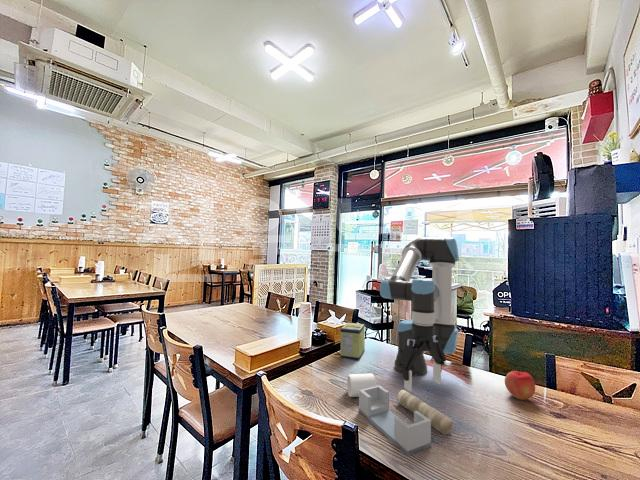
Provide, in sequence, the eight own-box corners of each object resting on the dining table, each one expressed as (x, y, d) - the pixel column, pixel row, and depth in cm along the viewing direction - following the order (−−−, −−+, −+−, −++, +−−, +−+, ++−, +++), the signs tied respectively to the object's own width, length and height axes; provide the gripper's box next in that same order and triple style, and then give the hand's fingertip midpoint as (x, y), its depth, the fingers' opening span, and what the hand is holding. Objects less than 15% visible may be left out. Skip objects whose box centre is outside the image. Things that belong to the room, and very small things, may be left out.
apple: (531, 395, 113) (531, 369, 113) (538, 407, 104) (537, 379, 105) (503, 390, 117) (502, 365, 117) (507, 401, 108) (506, 374, 109)
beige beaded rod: (397, 405, 105) (396, 392, 105) (407, 400, 107) (406, 387, 107) (442, 437, 87) (440, 422, 87) (453, 430, 89) (451, 415, 89)
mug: (376, 400, 108) (376, 378, 109) (351, 401, 107) (351, 379, 107) (367, 385, 120) (367, 366, 120) (344, 386, 119) (344, 367, 119)
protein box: (364, 351, 161) (364, 323, 162) (359, 361, 146) (359, 330, 147) (346, 348, 165) (347, 321, 165) (340, 358, 150) (340, 328, 151)
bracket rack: (379, 405, 104) (379, 385, 104) (430, 446, 82) (430, 420, 83) (358, 411, 100) (359, 390, 100) (407, 456, 78) (407, 428, 79)
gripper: (439, 318, 107) (439, 375, 106) (387, 324, 96) (387, 388, 95) (456, 322, 101) (457, 383, 100) (403, 329, 90) (402, 398, 89)
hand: (422, 385), depth 97 cm, fingers open, 13 cm apart
